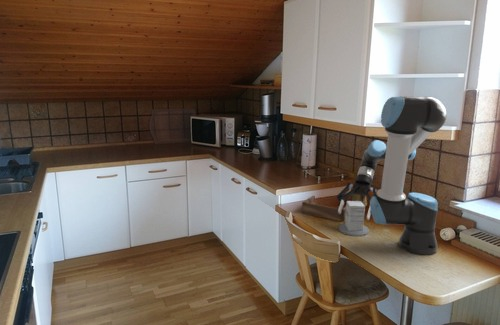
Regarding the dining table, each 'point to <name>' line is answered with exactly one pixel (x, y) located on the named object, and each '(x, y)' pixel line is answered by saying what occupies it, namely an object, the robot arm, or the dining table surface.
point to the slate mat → (353, 233)
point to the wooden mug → (360, 198)
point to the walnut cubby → (322, 210)
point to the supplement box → (354, 215)
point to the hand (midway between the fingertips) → (353, 215)
